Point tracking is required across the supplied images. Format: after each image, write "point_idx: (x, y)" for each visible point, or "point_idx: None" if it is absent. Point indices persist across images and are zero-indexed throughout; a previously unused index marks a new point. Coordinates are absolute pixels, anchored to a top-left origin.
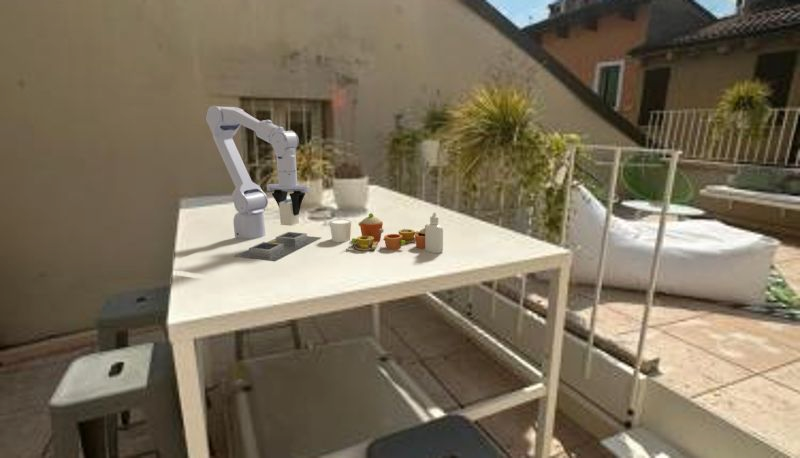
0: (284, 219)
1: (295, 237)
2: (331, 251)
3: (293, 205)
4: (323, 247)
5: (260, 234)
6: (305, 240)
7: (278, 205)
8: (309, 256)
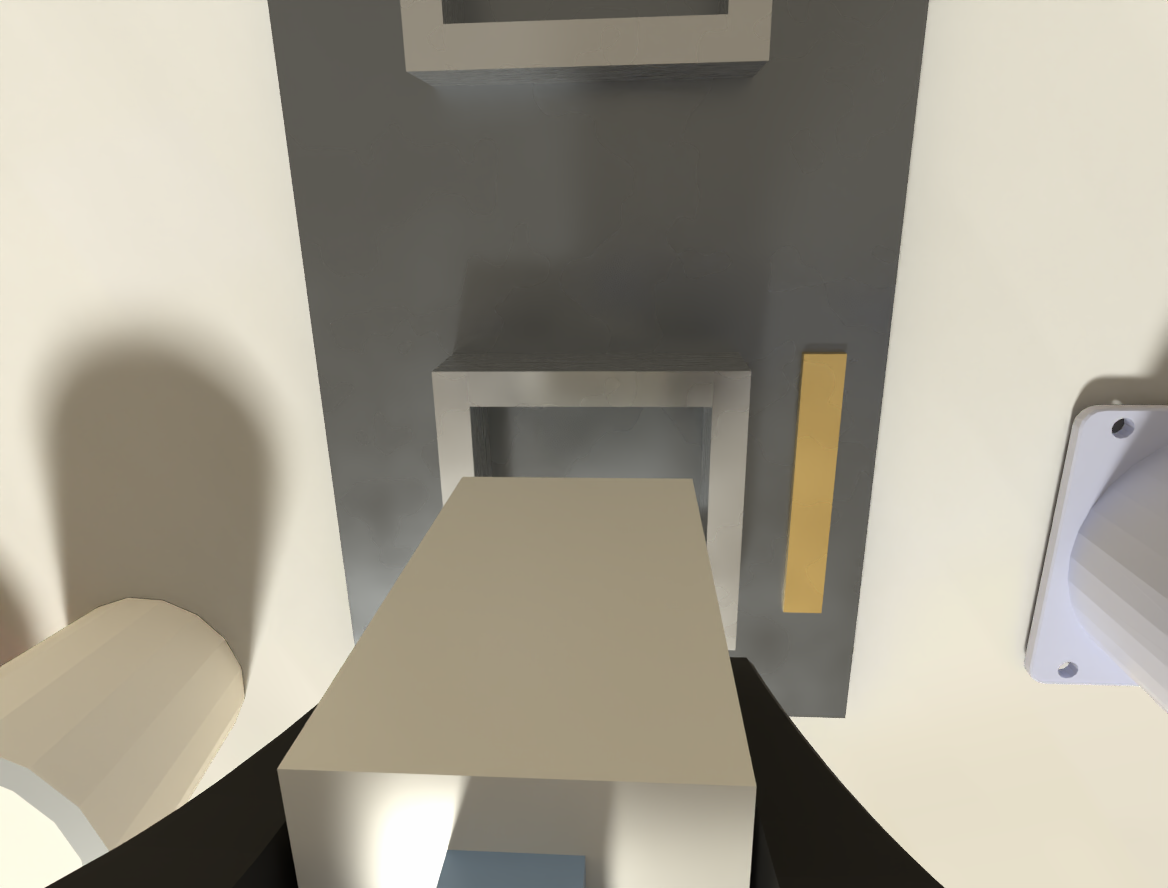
0: (598, 521)
1: (469, 435)
2: (27, 368)
3: (276, 788)
4: (201, 471)
5: (1118, 540)
6: None
7: (834, 789)
8: (104, 108)
